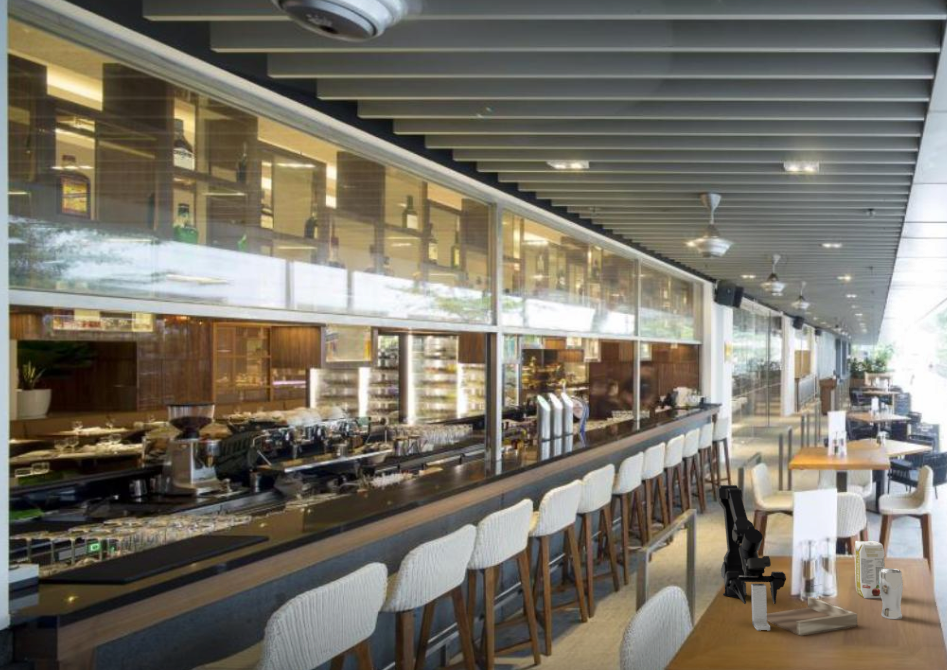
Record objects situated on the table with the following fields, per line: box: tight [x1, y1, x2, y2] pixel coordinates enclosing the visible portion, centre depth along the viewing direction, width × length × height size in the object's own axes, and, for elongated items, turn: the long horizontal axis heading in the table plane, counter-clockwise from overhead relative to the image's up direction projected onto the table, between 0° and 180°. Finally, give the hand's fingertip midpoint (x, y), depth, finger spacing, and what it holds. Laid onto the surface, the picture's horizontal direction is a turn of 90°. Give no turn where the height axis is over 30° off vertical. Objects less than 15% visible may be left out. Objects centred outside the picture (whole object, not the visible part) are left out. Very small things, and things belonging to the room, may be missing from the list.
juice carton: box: [854, 540, 886, 599], centre depth 292 cm, size 8×9×19 cm
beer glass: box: [879, 567, 904, 620], centre depth 269 cm, size 7×7×15 cm
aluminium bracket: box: [750, 583, 771, 632], centre depth 261 cm, size 6×4×13 cm, turn 175°
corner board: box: [767, 596, 858, 637], centre depth 266 cm, size 20×22×4 cm
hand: (760, 603), depth 262 cm, fingers open, 9 cm apart
